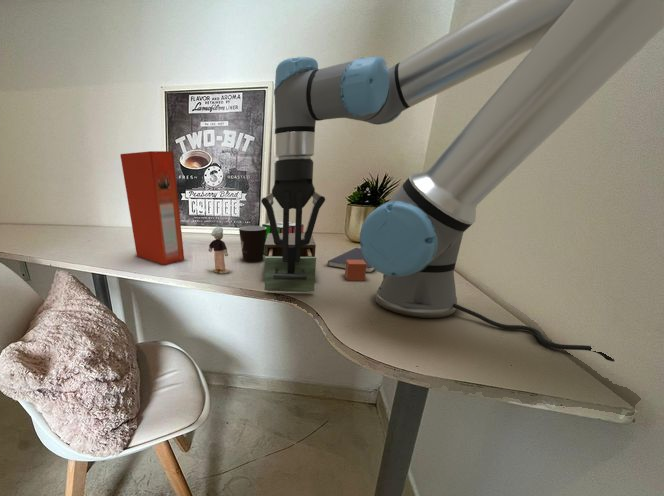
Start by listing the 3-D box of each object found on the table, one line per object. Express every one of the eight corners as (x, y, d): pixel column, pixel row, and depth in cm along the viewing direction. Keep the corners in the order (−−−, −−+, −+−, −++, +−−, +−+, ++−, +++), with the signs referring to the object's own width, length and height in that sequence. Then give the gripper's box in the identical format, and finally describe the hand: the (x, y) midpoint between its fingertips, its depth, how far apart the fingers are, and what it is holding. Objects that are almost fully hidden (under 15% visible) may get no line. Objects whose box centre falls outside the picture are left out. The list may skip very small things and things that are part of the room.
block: (364, 280, 86) (366, 264, 84) (347, 280, 87) (348, 263, 85) (361, 275, 90) (363, 259, 88) (344, 275, 90) (346, 259, 89)
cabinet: (313, 281, 86) (315, 244, 82) (264, 281, 87) (264, 244, 84) (309, 265, 100) (311, 233, 96) (267, 265, 102) (268, 233, 98)
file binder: (162, 265, 104) (148, 151, 91) (136, 256, 115) (120, 153, 102) (184, 260, 109) (173, 151, 96) (156, 252, 120) (143, 153, 107)
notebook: (355, 252, 114) (327, 266, 99) (355, 247, 114) (327, 260, 98) (393, 257, 107) (369, 273, 92) (394, 252, 106) (370, 267, 91)
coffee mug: (264, 263, 103) (264, 230, 99) (237, 262, 105) (236, 230, 101) (269, 254, 113) (269, 224, 109) (244, 254, 115) (243, 224, 111)
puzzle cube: (302, 254, 113) (304, 224, 108) (280, 259, 107) (280, 227, 103) (283, 249, 120) (284, 221, 116) (261, 253, 115) (261, 224, 111)
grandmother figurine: (234, 271, 96) (233, 226, 91) (226, 275, 93) (224, 228, 88) (213, 268, 100) (210, 224, 94) (205, 271, 97) (202, 226, 92)
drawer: (315, 299, 72) (318, 264, 69) (263, 298, 74) (263, 263, 70) (309, 273, 90) (311, 244, 87) (267, 272, 91) (268, 244, 88)
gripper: (326, 158, 67) (319, 271, 76) (261, 160, 69) (262, 271, 78) (330, 156, 60) (322, 281, 70) (258, 159, 62) (260, 281, 71)
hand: (290, 276), depth 74 cm, fingers closed
